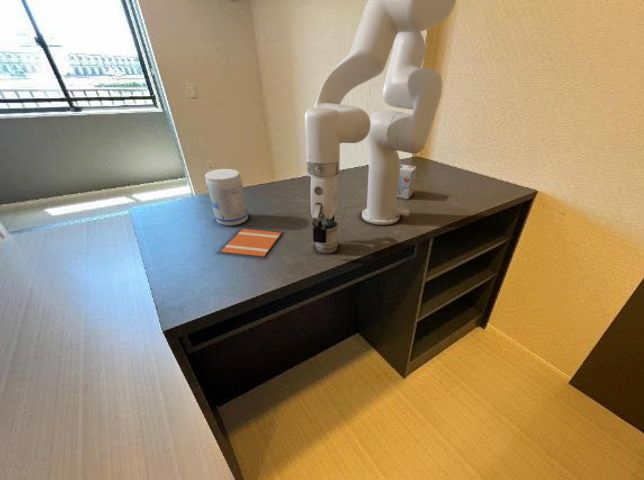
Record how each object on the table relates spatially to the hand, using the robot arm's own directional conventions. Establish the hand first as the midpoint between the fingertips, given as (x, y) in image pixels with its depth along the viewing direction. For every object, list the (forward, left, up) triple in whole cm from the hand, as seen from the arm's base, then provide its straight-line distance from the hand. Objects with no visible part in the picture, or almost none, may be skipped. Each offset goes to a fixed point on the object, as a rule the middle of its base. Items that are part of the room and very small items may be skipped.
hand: (324, 233), depth 79 cm
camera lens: (0, -1, -5) cm, 5 cm away
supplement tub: (+33, -12, -5) cm, 35 cm away
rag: (+21, 0, -5) cm, 21 cm away
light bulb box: (-18, -46, -5) cm, 49 cm away
